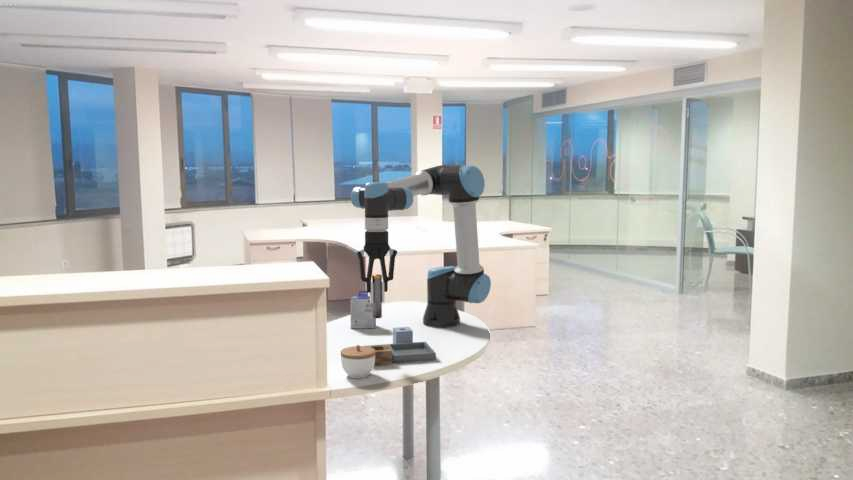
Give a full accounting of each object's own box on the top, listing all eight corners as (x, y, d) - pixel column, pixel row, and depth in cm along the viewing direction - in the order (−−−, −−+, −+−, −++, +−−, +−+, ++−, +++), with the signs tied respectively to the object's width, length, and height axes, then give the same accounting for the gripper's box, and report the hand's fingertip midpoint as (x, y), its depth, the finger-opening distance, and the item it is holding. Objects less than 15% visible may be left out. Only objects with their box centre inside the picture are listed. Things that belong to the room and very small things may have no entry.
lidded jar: (377, 369, 206) (377, 340, 205) (374, 381, 195) (373, 350, 194) (343, 369, 206) (343, 340, 205) (338, 380, 196) (338, 350, 194)
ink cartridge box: (376, 325, 262) (376, 290, 260) (375, 328, 256) (375, 292, 255) (351, 325, 262) (351, 290, 260) (350, 328, 256) (350, 292, 254)
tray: (425, 348, 229) (425, 341, 229) (435, 360, 216) (435, 352, 215) (386, 351, 226) (386, 344, 226) (394, 363, 212) (394, 355, 212)
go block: (387, 357, 219) (387, 344, 218) (391, 364, 211) (391, 350, 211) (363, 358, 217) (363, 345, 217) (367, 366, 209) (367, 352, 209)
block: (409, 342, 237) (409, 326, 236) (412, 347, 231) (412, 330, 231) (392, 343, 236) (392, 327, 235) (396, 348, 230) (396, 331, 229)
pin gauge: (381, 315, 214) (380, 274, 213) (382, 318, 211) (382, 275, 210) (371, 316, 213) (371, 274, 212) (373, 318, 210) (372, 276, 209)
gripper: (353, 232, 203) (354, 305, 206) (403, 231, 207) (403, 303, 210) (350, 229, 211) (351, 300, 213) (398, 228, 214) (398, 298, 217)
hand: (377, 301), depth 212 cm, fingers closed on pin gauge, 3 cm apart
